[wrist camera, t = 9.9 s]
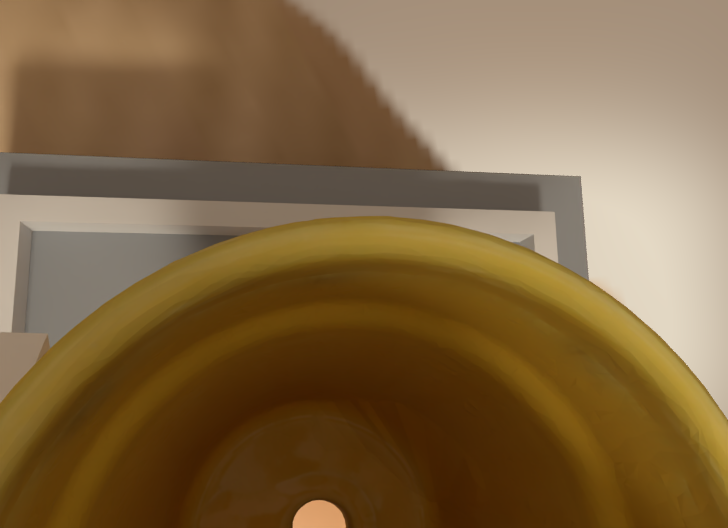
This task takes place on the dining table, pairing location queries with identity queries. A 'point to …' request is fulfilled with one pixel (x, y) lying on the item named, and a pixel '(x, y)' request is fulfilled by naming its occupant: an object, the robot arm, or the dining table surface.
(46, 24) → the dining table surface
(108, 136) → the dining table surface
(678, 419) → the plant pot
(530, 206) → the grey square tray
